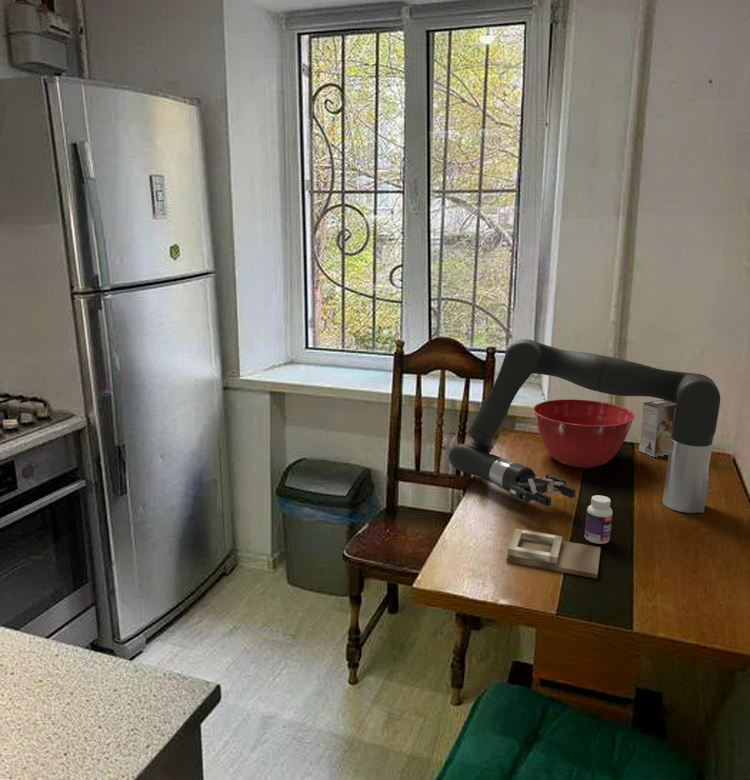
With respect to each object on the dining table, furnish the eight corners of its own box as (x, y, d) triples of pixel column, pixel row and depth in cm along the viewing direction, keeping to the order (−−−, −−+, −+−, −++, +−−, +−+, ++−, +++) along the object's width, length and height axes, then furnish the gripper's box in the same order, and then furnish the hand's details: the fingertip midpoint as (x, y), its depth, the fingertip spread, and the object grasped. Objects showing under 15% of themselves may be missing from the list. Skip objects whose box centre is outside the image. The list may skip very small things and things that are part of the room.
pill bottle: (606, 546, 145) (610, 505, 142) (581, 540, 147) (585, 500, 145) (612, 537, 149) (616, 497, 147) (587, 531, 152) (591, 491, 149)
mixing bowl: (514, 464, 194) (518, 413, 190) (549, 439, 216) (553, 393, 212) (613, 486, 178) (619, 431, 174) (639, 456, 201) (645, 407, 197)
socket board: (600, 551, 142) (601, 541, 142) (597, 578, 132) (598, 567, 131) (516, 536, 149) (516, 526, 148) (506, 561, 138) (507, 550, 137)
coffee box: (659, 448, 209) (665, 398, 205) (676, 454, 203) (682, 404, 199) (637, 451, 205) (643, 401, 201) (653, 458, 199) (660, 407, 195)
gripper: (492, 468, 163) (543, 490, 150) (531, 457, 171) (583, 477, 158) (490, 496, 165) (540, 520, 152) (530, 484, 173) (580, 506, 160)
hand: (562, 498), depth 155 cm, fingers open, 8 cm apart
